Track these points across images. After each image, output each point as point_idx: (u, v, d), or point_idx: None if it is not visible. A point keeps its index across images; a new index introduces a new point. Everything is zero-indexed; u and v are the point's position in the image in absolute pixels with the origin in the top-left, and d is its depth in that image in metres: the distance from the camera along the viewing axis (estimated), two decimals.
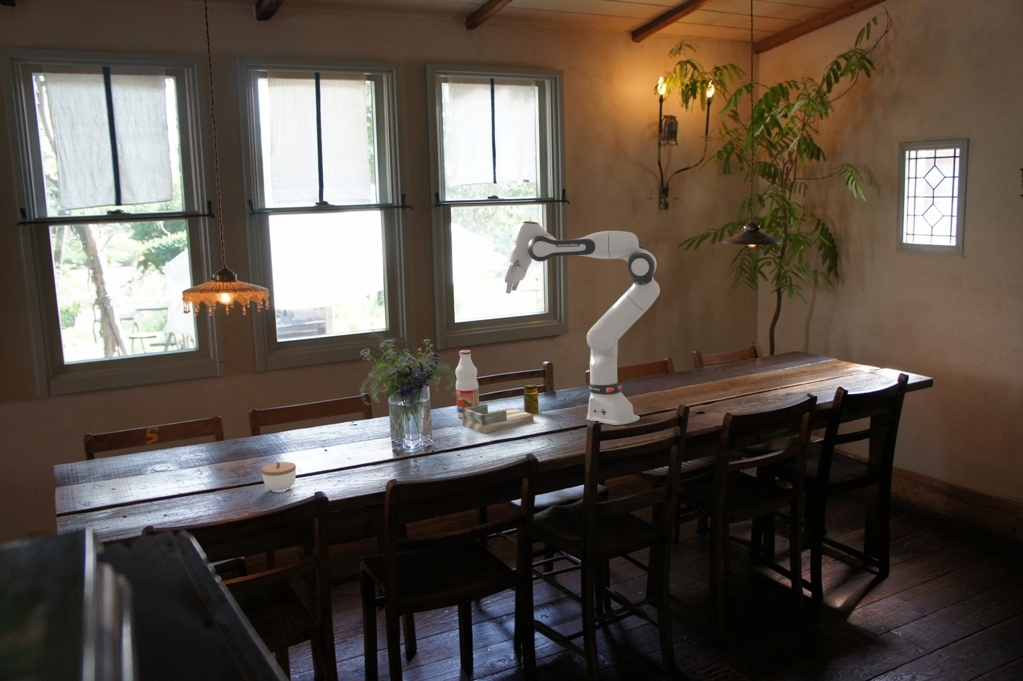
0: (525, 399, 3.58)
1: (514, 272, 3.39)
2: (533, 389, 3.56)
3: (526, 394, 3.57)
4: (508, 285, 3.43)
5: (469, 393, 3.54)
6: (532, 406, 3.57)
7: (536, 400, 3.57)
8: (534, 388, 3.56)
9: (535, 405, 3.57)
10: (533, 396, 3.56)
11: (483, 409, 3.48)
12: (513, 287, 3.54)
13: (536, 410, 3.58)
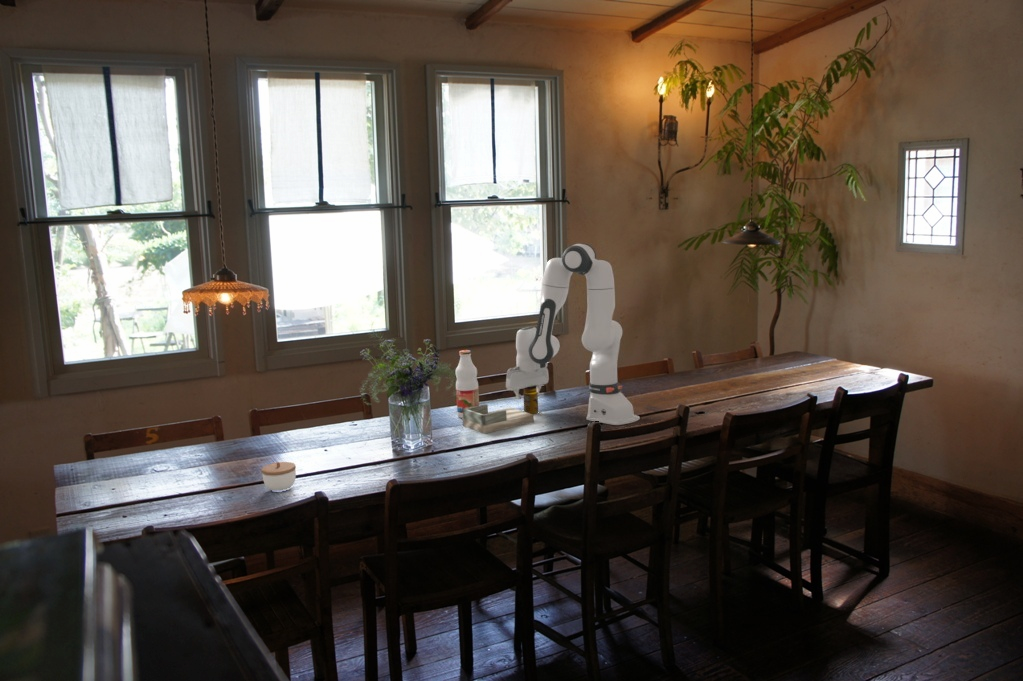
0: (524, 399, 3.58)
1: (510, 378, 3.51)
2: (533, 389, 3.56)
3: (526, 394, 3.57)
4: (514, 391, 3.55)
5: (469, 393, 3.54)
6: (531, 406, 3.57)
7: (536, 400, 3.57)
8: (534, 388, 3.56)
9: (534, 406, 3.57)
10: (533, 396, 3.56)
11: (483, 409, 3.48)
12: None
13: (536, 410, 3.58)
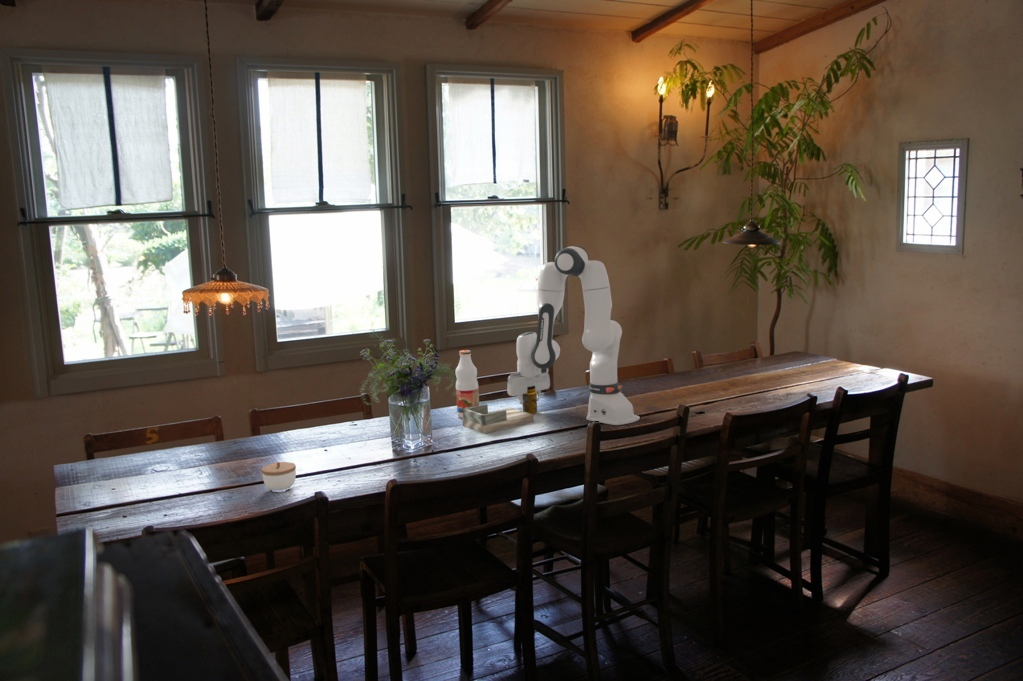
0: (523, 399, 3.57)
1: (511, 384, 3.51)
2: (531, 389, 3.56)
3: (524, 394, 3.56)
4: (518, 396, 3.56)
5: (469, 393, 3.54)
6: (530, 406, 3.56)
7: (534, 400, 3.57)
8: (532, 388, 3.56)
9: (533, 406, 3.57)
10: (532, 396, 3.56)
11: (483, 409, 3.48)
12: None
13: (534, 410, 3.57)
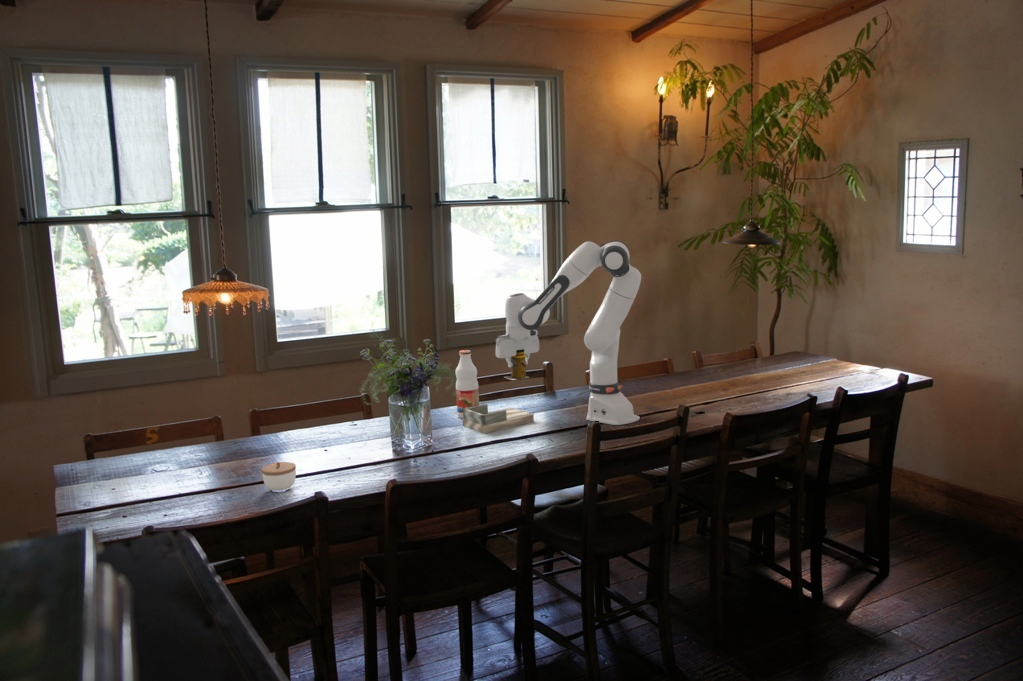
0: (512, 362, 3.51)
1: (499, 346, 3.45)
2: (520, 352, 3.49)
3: (513, 358, 3.50)
4: (506, 359, 3.49)
5: (469, 393, 3.54)
6: (519, 370, 3.50)
7: (523, 364, 3.50)
8: (521, 352, 3.50)
9: (522, 369, 3.50)
10: (520, 359, 3.49)
11: (483, 409, 3.48)
12: None
13: (523, 374, 3.51)
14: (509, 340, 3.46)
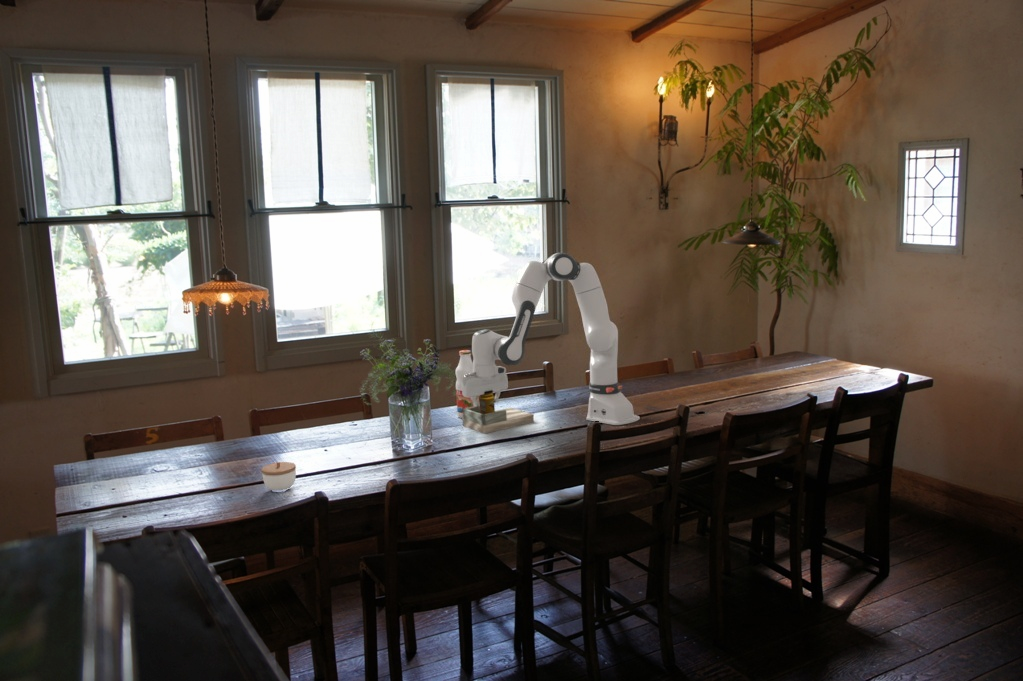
0: (480, 404, 3.40)
1: (466, 385, 3.33)
2: (489, 393, 3.38)
3: (481, 399, 3.39)
4: (471, 398, 3.37)
5: None
6: (487, 412, 3.39)
7: (492, 405, 3.39)
8: (490, 393, 3.38)
9: (491, 411, 3.39)
10: (489, 401, 3.38)
11: None
12: None
13: None
14: (476, 378, 3.35)
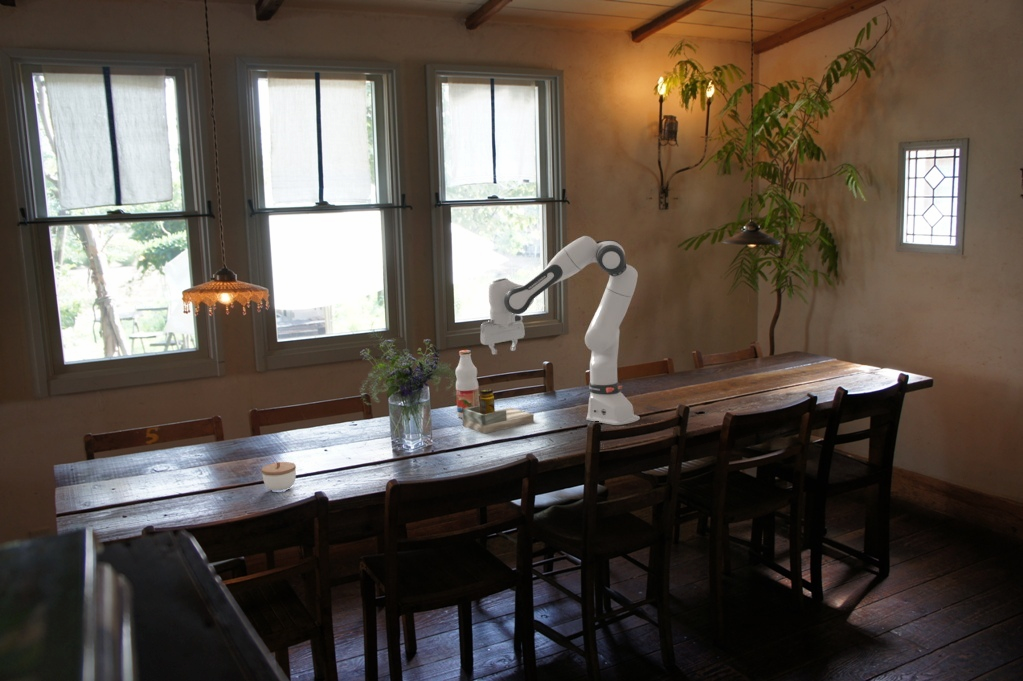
0: (480, 404, 3.40)
1: (484, 332, 3.40)
2: (489, 393, 3.38)
3: (481, 399, 3.39)
4: (490, 346, 3.44)
5: (469, 393, 3.54)
6: (487, 412, 3.39)
7: (492, 405, 3.39)
8: (490, 393, 3.38)
9: (491, 411, 3.39)
10: (489, 401, 3.38)
11: None
12: (511, 347, 3.50)
13: None
14: (494, 326, 3.42)
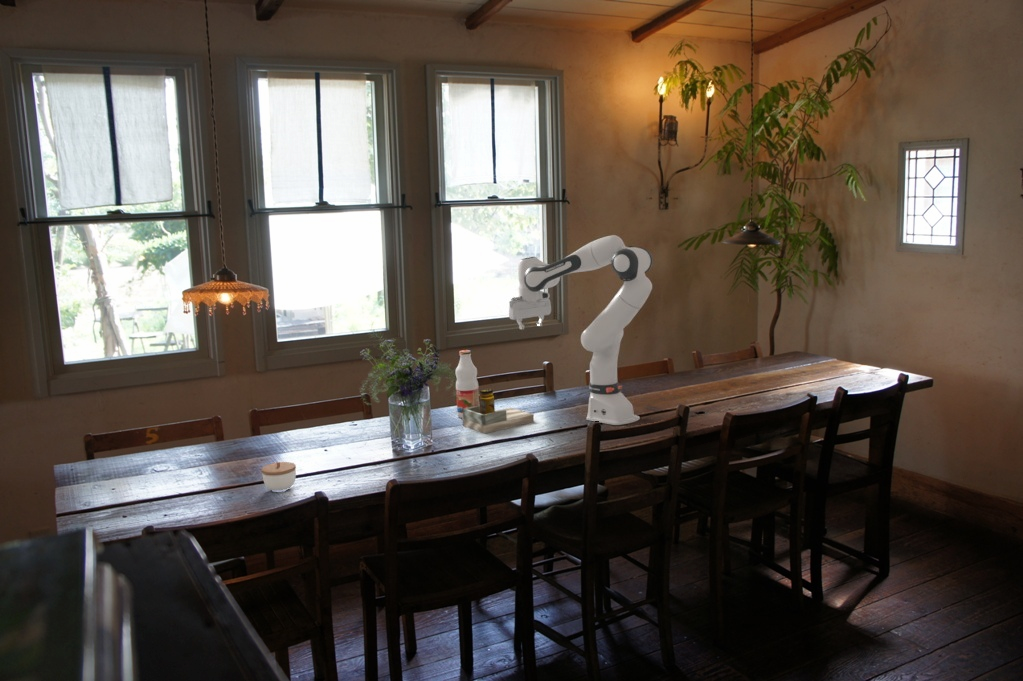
0: (480, 404, 3.40)
1: (513, 307, 3.55)
2: (489, 393, 3.38)
3: (481, 399, 3.39)
4: (517, 321, 3.59)
5: (469, 393, 3.54)
6: (487, 412, 3.39)
7: (492, 405, 3.39)
8: (490, 393, 3.38)
9: (491, 411, 3.39)
10: (489, 401, 3.38)
11: None
12: (537, 323, 3.65)
13: None
14: (522, 302, 3.57)
